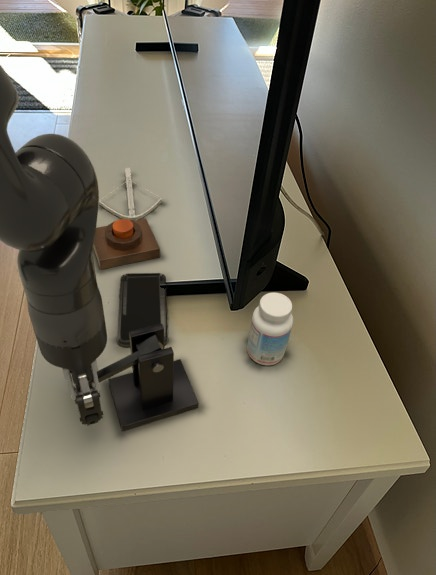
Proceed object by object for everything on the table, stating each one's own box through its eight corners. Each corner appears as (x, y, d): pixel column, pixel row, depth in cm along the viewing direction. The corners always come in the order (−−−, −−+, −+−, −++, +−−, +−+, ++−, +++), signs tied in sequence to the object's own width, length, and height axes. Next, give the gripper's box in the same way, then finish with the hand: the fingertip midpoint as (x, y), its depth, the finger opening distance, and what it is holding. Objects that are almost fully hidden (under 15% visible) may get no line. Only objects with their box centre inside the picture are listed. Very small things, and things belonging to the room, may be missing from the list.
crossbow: (164, 221, 100) (164, 214, 98) (100, 225, 97) (99, 217, 96) (156, 172, 110) (156, 164, 108) (98, 174, 107) (97, 166, 106)
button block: (100, 269, 88) (98, 253, 85) (90, 237, 94) (87, 221, 91) (160, 257, 91) (159, 241, 89) (146, 227, 97) (145, 210, 94)
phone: (165, 272, 87) (167, 341, 77) (165, 277, 88) (167, 345, 78) (120, 273, 86) (116, 342, 76) (120, 278, 87) (116, 347, 77)
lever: (85, 405, 63) (76, 398, 61) (78, 377, 66) (69, 369, 64) (169, 363, 63) (163, 354, 61) (159, 336, 66) (152, 327, 64)
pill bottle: (290, 346, 80) (304, 299, 71) (273, 373, 76) (286, 327, 68) (257, 329, 81) (267, 282, 73) (239, 355, 78) (247, 308, 69)
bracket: (122, 431, 67) (115, 379, 58) (108, 383, 72) (100, 328, 63) (198, 407, 71) (203, 355, 61) (180, 363, 76) (182, 308, 66)
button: (116, 240, 88) (115, 233, 87) (111, 228, 90) (110, 220, 89) (135, 237, 89) (135, 229, 88) (130, 224, 92) (130, 217, 90)
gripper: (23, 279, 57) (48, 362, 69) (42, 380, 48) (67, 456, 60) (89, 265, 59) (102, 348, 71) (118, 360, 50) (128, 436, 62)
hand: (86, 397), depth 66 cm, fingers open, 6 cm apart
